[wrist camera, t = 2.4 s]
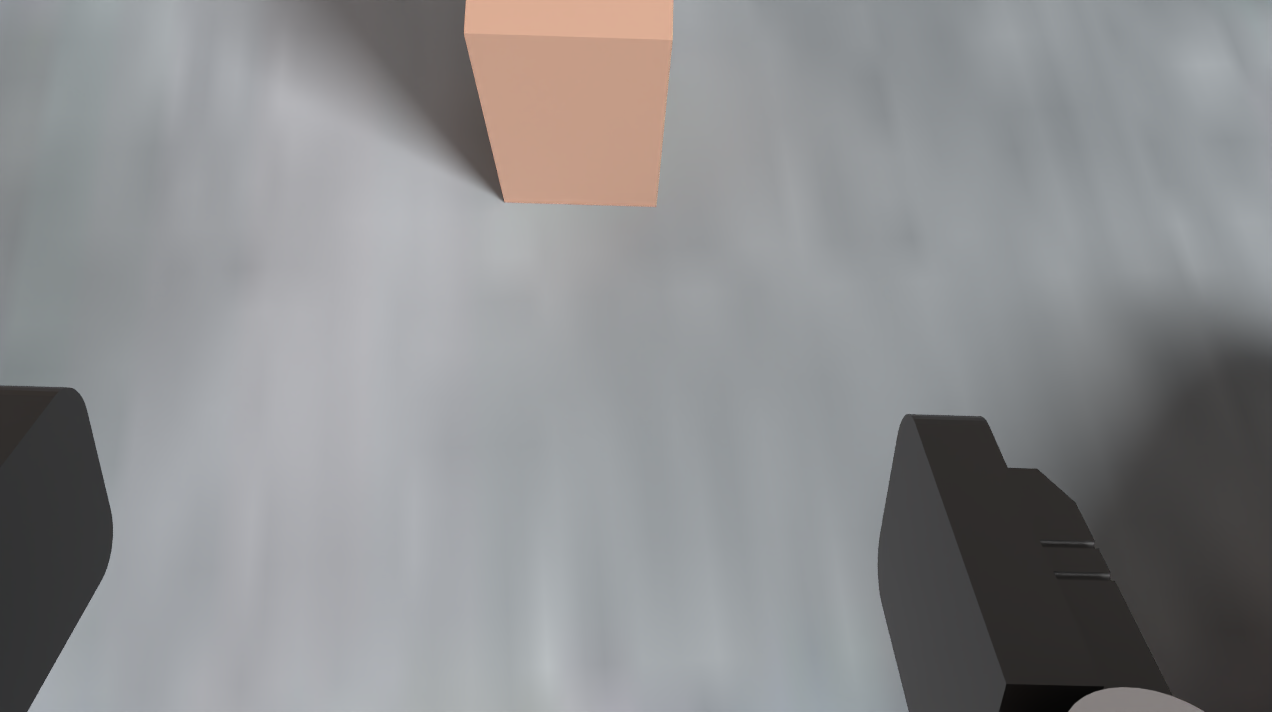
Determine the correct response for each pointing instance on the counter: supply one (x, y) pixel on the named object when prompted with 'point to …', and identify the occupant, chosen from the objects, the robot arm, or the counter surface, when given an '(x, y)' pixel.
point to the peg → (573, 96)
